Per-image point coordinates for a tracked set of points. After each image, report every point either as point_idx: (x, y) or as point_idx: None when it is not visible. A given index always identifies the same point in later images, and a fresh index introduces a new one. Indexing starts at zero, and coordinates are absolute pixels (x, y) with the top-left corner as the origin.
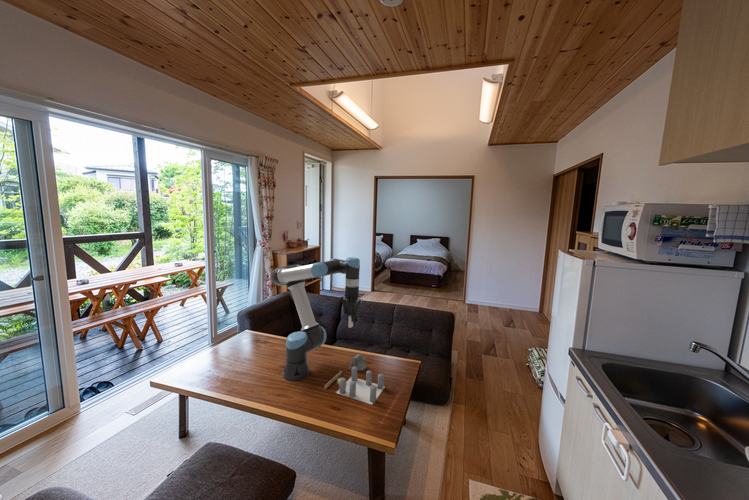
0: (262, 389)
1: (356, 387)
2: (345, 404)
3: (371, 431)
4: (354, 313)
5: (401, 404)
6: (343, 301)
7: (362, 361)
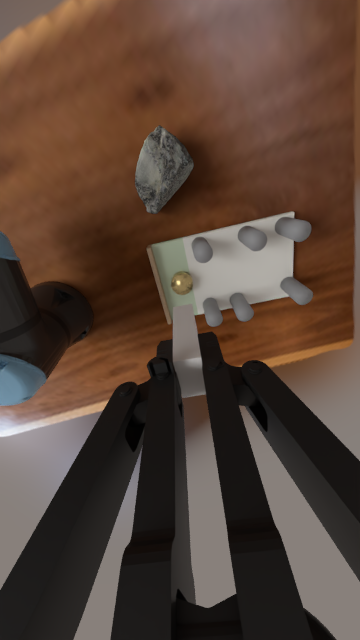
0: (76, 381)
1: (226, 269)
2: (235, 320)
3: (314, 341)
4: (254, 418)
5: (353, 242)
6: (65, 622)
7: (182, 172)
